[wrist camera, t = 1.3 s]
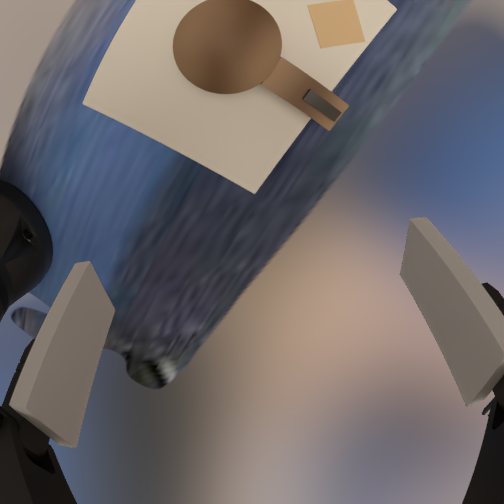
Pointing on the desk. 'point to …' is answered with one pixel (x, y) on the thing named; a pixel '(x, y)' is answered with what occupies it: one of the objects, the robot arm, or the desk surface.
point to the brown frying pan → (246, 57)
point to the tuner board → (227, 105)
